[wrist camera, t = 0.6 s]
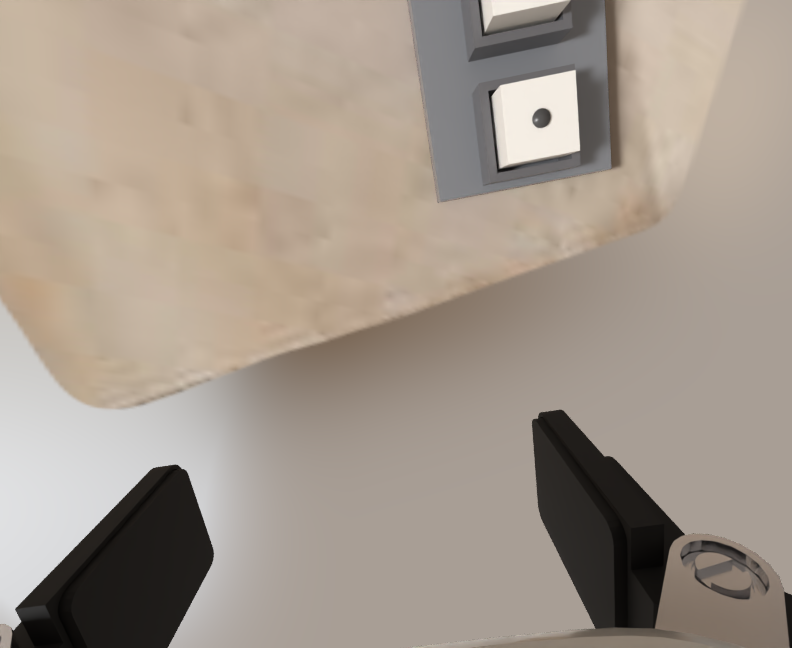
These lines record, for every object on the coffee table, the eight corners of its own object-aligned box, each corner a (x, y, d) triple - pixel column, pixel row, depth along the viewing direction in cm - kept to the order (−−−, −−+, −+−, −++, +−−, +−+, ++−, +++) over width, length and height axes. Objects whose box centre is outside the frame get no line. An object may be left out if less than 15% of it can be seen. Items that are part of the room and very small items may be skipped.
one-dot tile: (489, 98, 29) (500, 84, 26) (557, 85, 29) (576, 68, 26) (497, 169, 30) (508, 164, 27) (562, 157, 30) (581, 150, 27)
